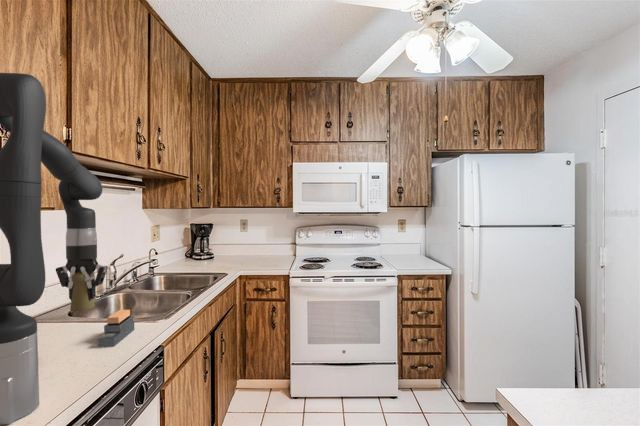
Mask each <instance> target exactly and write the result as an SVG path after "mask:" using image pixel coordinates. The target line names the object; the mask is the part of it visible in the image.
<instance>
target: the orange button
mask: <svg viewBox="0 0 640 426" xmlns="http://www.w3.org/2000/svg"><path fill="white" fill-rule="evenodd" d="M128 316H131V309H119V310H118V311H116V312H114V313H113V314H111V315H109V316H108V317H106V318H107V322H106V324H112V323H120V322H121V321H123V320H124V319H125V318H127V317H128Z"/></svg>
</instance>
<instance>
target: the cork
mask: <svg viewBox="0 0 640 426" xmlns="http://www.w3.org/2000/svg"><path fill="white" fill-rule="evenodd" d="M92 276H93V275H92V274H91V275H89V277H92ZM71 278H72V282H73V283H74V286H73V293H72V300H71V299H70V308H69V310H70V311H72V312H77V311H78V312H80V311H85V310H89V309H93V308H95V306H96V304H95V298H94V299H91V301H89V298H88V292H87V289H88V286H87V283H86V281H85V275H84V274H82V272H76V273H75V274H73V275H72V277H71Z"/></svg>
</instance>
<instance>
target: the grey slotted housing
mask: <svg viewBox="0 0 640 426" xmlns="http://www.w3.org/2000/svg"><path fill="white" fill-rule="evenodd" d="M134 331H135V321H134V315H130V316H128V317H127V318H125V319H124V320H123V321H121V322H120V323H112V324H107V323H106V324H105V325H104V326H103V334H101V335H100V336H99V337H97V348H109V347H110V348H111V347H115V346H117V345H118V344H119V343H121V341H123V340H124V339H125V338H127V337H128V336H129V335H130V334H131V333H132V332H134Z"/></svg>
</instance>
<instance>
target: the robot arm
mask: <svg viewBox="0 0 640 426" xmlns="http://www.w3.org/2000/svg"><path fill="white" fill-rule="evenodd" d="M46 112H47V97H46V92H45V88H44V86H43V84H42V83H41V81H40V80H39V79H38V78H37V77H35V76H33V75H31V74H27V73H22V72H21V73H19V72H18V73H17V72H0V126H2V127H3V128H4V129H5V130H6V131H7V132H8V133H9V135H8V138H7V140H6V142H5V143H4V144H3V146H2V148H0V230H1V232H2V233H3V235H4V237H5V238H6V240H7V243H8V246H9V247H8V248H9V254H10V263H0V425H1V426H3V425H10V424H12V423H13V422H15V421H17V420H19V419H21V418H23V417H25V416H27V415H29V414H31V413H33V412H34V411H35V410H36V409H37V408H39V405H40V382H39V381H40V380H39V379H40V376H39V375H40V374H39V354H38V353H39V347H38V339H39V338H38V321H37V319H36V318H35V317H33V316H32V315H28V314H25V313H24V312H22V311H20V310H19V309H18V308H17V307H27V306H31V305H34V304H35V303H36V302H38V301H39V300H40V299H41V297H43V293H44V291H45V286H46V265H45V259H44V251H43V242H42V216H41V215H42V210H41V209H42V165H43V166H44V167H45V168H46V169H47V171H49V173H50V174H51V175H52V176H53V177H54V178H55V179H56V180H59V183H58V194H59V197H60V199H61V203H62V205H63V208H64V212H65V215H66V233H65V259H66V263H65V265H63V266H59V267H56V268H55V272H56V274H57V278H58V280H59V283H60V286H61V287H63V288H64V287H65V288H67V289H68V299H69V300H70V301H71V300H72V293H73V286H74V283H73V282H72V278H71V277H72V275H73V274H75V273H76V272H82V274H84V275H85V281H86V283H87V286H88V289H87V292H88V298H89V301H91V299H94V300H95V298H96V296H97V295H96V287H98V286H101V285H102V284H103V283H104V280H105V277H106V274H107V271H108V269H109V267H108V265H102V264H101V265H100V264H99V262H98V260H97V259H98V235H97V228H96V226H97V225H96V224H97V223H96V211H95V210H94V209H92V208H87V207H85V206H82V204H81V201H93V200H97V199H99V198H100V197H101V196H102V194H103V185H102V183H101V181H100V179H99V178H98V177H97V176H96V174H94V173H93V172H91V171H90V170H89V169H88V168H86V167H85V166H83V165H82V164H81V163H80V162H79V161H78V159H77V158H76V156H75V155H74V154H73V152H72V151H71V150H70V148H69V147H68V146H67V145H65V143H63V142H62V141H61V140H59V138H56V137H55V136H53V135H52V134H50V133H49V132H48V131H45V130H44V127H45V120H46V114H47V113H46ZM95 271H96V273H97V274H95ZM68 272H69V273H70V274H68ZM91 274H92V275H93V276H92V277H89V275H91Z"/></svg>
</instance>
